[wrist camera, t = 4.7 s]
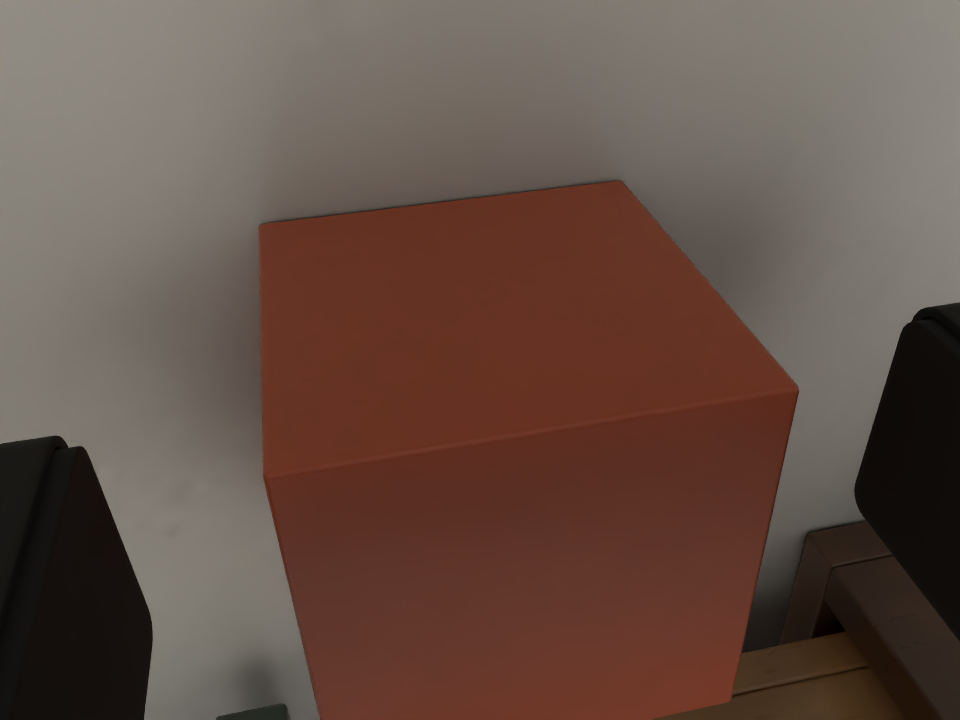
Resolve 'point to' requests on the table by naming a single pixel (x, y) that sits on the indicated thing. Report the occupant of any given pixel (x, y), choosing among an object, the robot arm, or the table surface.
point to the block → (514, 459)
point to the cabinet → (877, 619)
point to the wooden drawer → (771, 687)
